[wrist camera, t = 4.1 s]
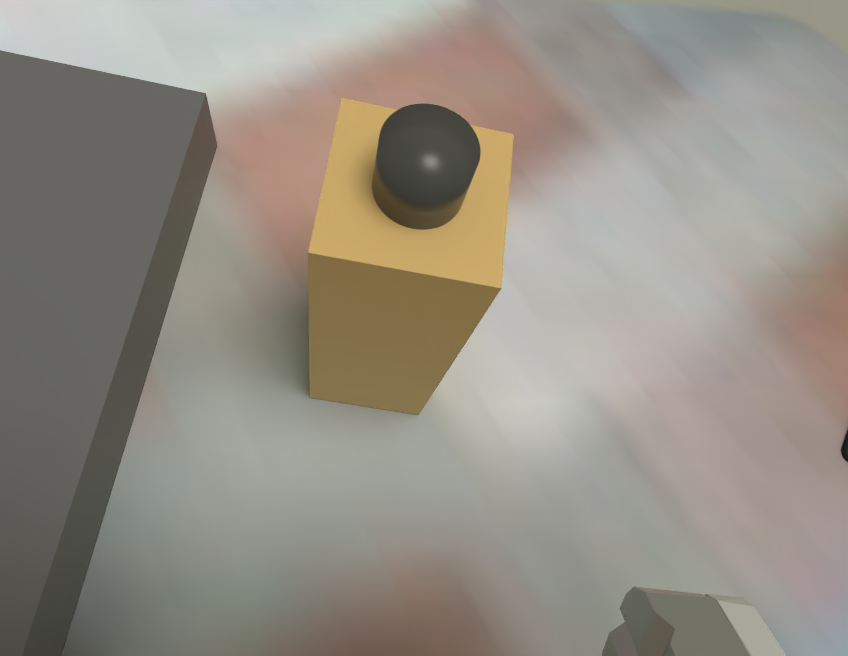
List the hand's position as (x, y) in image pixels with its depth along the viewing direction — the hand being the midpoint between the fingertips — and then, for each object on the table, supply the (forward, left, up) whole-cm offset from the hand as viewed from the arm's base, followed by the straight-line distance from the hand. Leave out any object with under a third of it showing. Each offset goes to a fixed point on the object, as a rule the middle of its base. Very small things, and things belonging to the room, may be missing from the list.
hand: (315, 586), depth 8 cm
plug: (+6, +5, -14) cm, 16 cm away
